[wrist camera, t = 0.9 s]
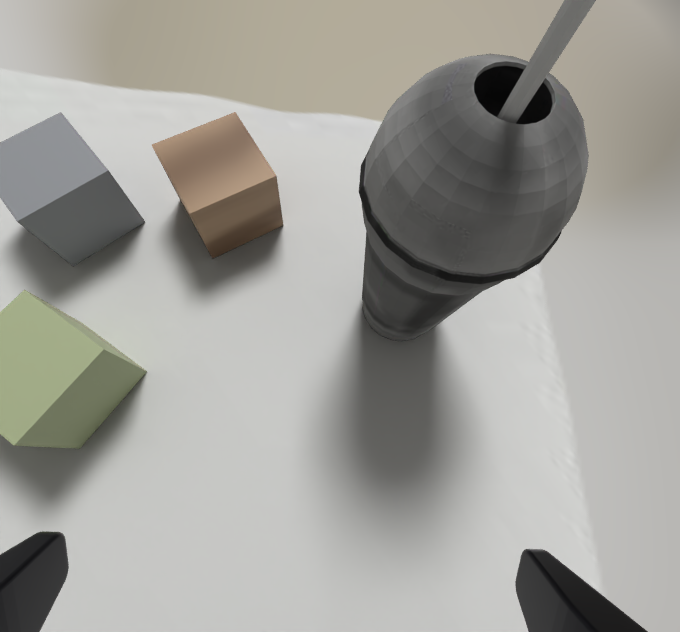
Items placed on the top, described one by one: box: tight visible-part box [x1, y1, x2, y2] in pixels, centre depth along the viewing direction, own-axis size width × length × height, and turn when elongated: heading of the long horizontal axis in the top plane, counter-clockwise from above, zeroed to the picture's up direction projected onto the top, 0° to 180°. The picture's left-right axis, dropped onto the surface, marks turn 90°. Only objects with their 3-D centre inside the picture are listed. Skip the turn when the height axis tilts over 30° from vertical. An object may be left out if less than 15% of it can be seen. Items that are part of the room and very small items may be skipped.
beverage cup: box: [359, 0, 596, 341], centre depth 16 cm, size 7×7×20 cm
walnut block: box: [152, 112, 283, 258], centre depth 24 cm, size 5×5×5 cm
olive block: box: [0, 290, 147, 449], centre depth 20 cm, size 5×5×5 cm
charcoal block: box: [0, 112, 145, 266], centre depth 24 cm, size 5×5×5 cm
